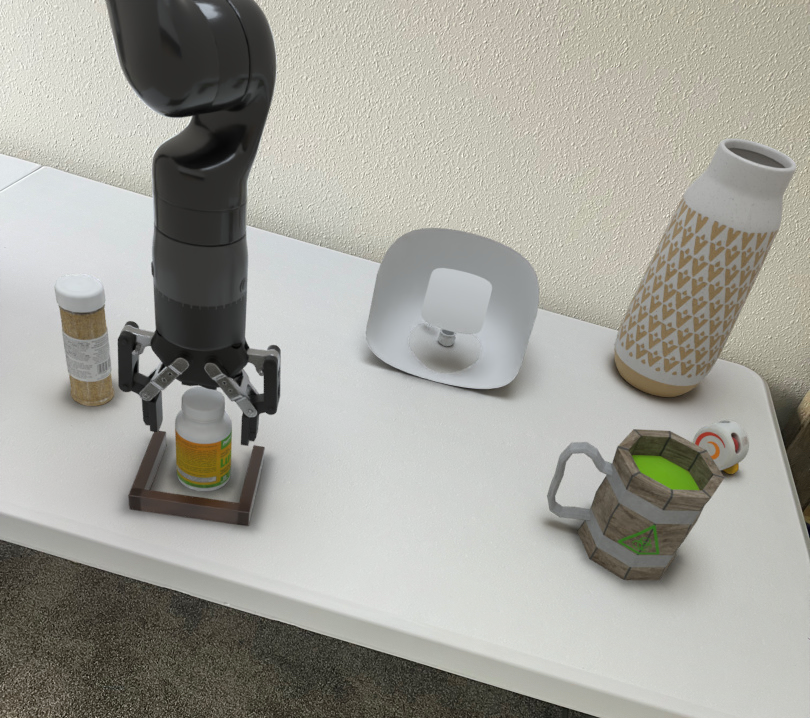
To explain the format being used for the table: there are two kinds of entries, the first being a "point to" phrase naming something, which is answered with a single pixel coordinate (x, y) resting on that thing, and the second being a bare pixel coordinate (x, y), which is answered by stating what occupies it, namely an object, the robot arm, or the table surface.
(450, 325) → the rounded square lampshade
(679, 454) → the mug
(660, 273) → the vase
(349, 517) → the table surface
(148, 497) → the frame
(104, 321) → the sprinkles bottle
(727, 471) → the roller toy
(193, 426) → the supplement bottle
